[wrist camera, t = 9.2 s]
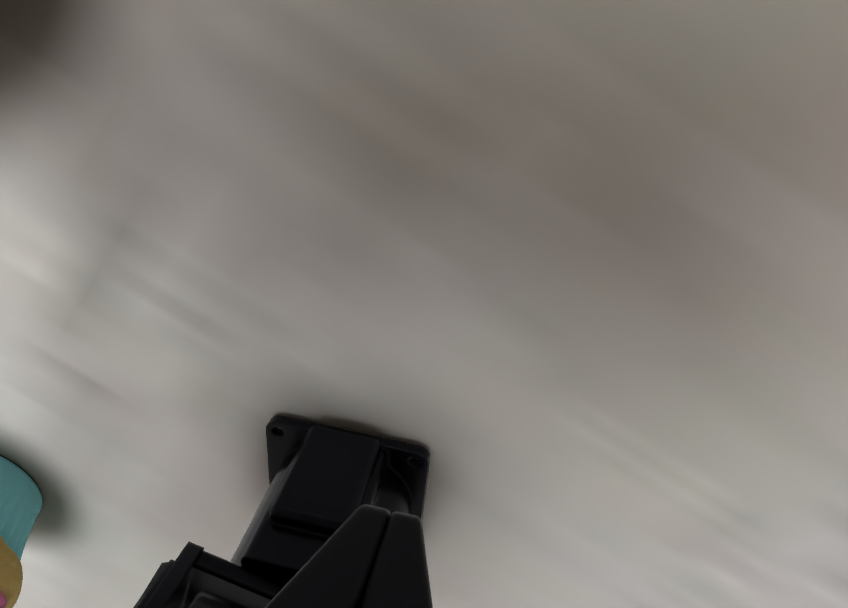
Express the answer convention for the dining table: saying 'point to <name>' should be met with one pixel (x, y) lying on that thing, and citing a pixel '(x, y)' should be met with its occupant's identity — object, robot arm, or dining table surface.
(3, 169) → the dining table surface
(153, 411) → the dining table surface
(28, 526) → the cupcake
